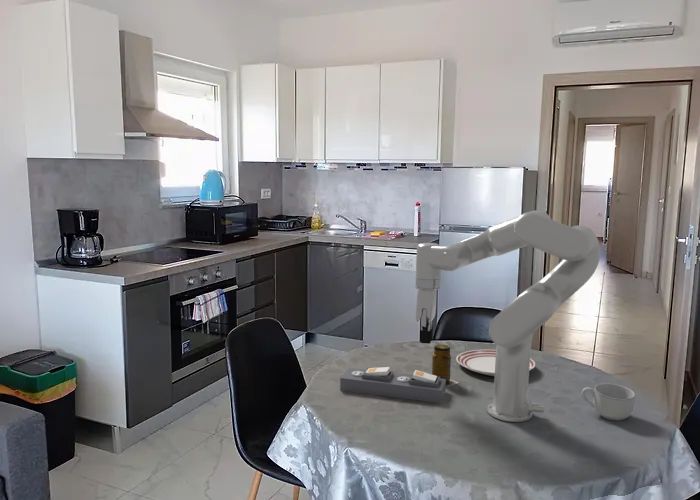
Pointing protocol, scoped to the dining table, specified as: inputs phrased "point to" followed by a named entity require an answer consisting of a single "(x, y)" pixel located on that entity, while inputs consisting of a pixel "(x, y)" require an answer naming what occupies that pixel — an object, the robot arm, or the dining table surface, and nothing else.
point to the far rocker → (378, 371)
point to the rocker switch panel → (393, 385)
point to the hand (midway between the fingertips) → (425, 341)
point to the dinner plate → (481, 361)
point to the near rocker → (424, 376)
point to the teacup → (611, 400)
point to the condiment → (442, 363)
